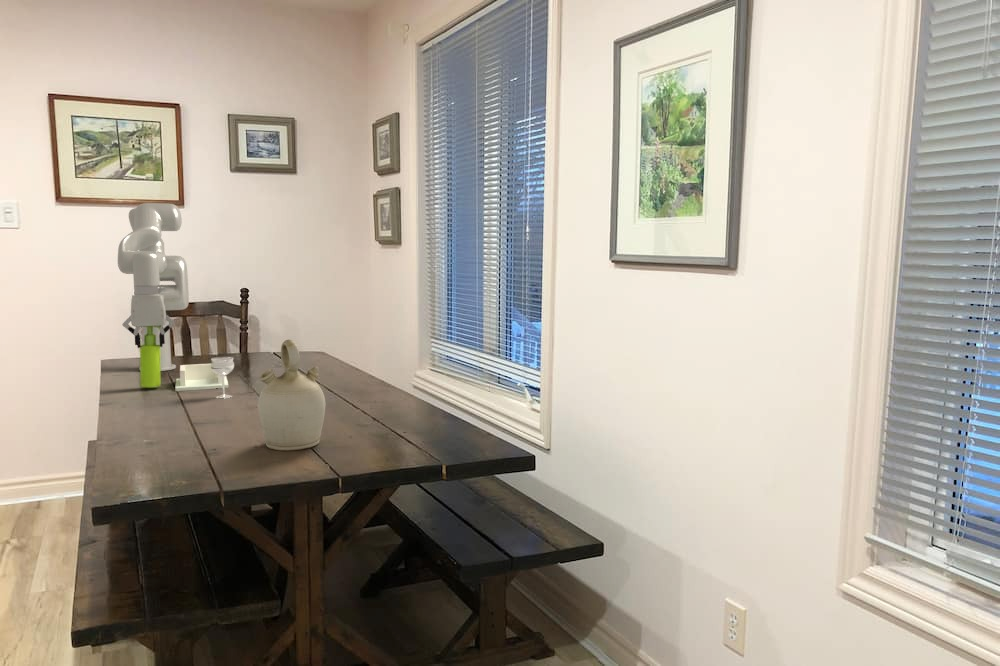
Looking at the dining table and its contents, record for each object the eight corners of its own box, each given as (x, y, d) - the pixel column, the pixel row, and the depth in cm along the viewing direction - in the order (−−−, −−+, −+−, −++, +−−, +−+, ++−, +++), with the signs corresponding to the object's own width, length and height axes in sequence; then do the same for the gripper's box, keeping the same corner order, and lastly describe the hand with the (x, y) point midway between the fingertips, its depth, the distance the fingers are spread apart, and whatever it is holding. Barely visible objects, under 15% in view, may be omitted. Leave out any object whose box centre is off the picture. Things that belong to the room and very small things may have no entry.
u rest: (176, 381, 255) (175, 364, 254) (226, 378, 261) (225, 361, 260) (175, 391, 239) (174, 372, 238) (228, 387, 245) (227, 369, 244)
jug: (258, 455, 167) (254, 344, 164) (260, 438, 182) (256, 336, 179) (328, 450, 171) (325, 342, 168) (324, 434, 186) (322, 334, 183)
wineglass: (220, 400, 225) (218, 360, 224) (207, 397, 230) (206, 358, 228) (240, 396, 231) (238, 358, 229) (227, 393, 235) (225, 356, 233)
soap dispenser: (158, 387, 239) (157, 326, 237) (137, 386, 240) (136, 325, 237) (167, 384, 245) (166, 324, 243) (146, 383, 245) (145, 323, 243)
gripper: (176, 289, 245) (179, 344, 247) (118, 290, 238) (121, 346, 240) (176, 291, 238) (179, 347, 240) (115, 292, 231) (119, 349, 234)
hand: (150, 346), depth 240 cm, fingers closed on soap dispenser, 5 cm apart
